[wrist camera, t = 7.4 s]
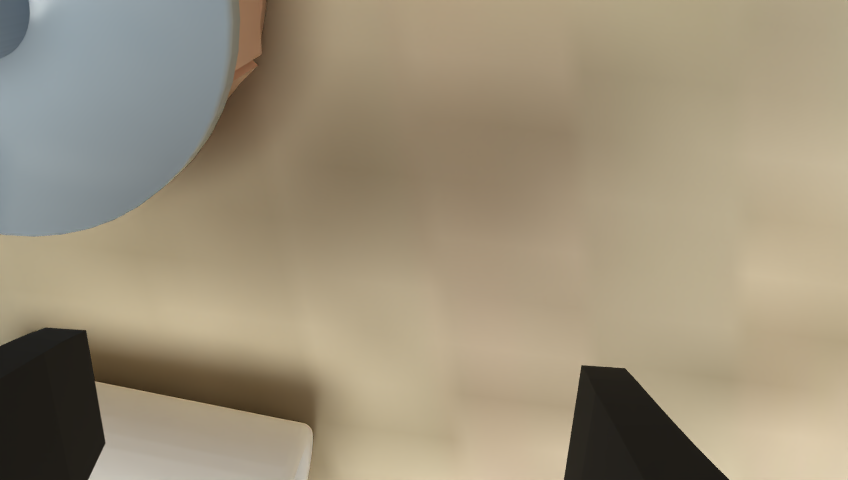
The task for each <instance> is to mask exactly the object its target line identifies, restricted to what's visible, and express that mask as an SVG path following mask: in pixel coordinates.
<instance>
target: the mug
mask: <svg viewBox="0 0 848 480" xmlns="http://www.w3.org/2000/svg"><path fill="white" fill-rule="evenodd" d="M95 385H96V391H97V396H98V402H99V408H100V414H101V419H102V425H103V431H104V437H105V442H106V443H105V445H104V447H103V450H102V452H101V454H100V456H99V458H98V460H97V462H96V464H95V466H94V469H93V471H92V473H91V475H90V477H89V479H88V480H308V476H309V470H310V464H311V456H312V448H313V433H312V429H311V428H310V426H309V425H307V424H305V423H301V422H296V421H291V420H286V419H281V418H276V417H271V416H266V415H261V414H256V413H251V412H246V411H241V410H236V409H231V408H226V407H221V406H216V405H211V404H206V403H201V402H196V401H191V400H186V399H181V398H176V397H171V396H166V395H161V394H156V393H151V392H146V391H141V390H136V389H131V388H126V387H121V386H116V385H111V384H106V383H101V382H96V381H95Z"/></svg>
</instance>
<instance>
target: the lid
mask: <svg viewBox="0 0 848 480" xmlns="http://www.w3.org/2000/svg"><path fill="white" fill-rule="evenodd" d="M239 33H240V9H239V0H0V234H3V235H17V236H47V235H61V234H66V233H71V232H76V231H81V230H85V229H90V228H92V227H95V226H98V225H101V224H103V223H106V222H109V221H112V220H114V219H116V218H118V217H120V216H122V215H124V214H125V213H127V212H129V211H131V210H133V209H135V208H137V207H138V206H140V205H141V204H142V203H144V202H145V201H146V200H147V199H149V198H150V197H151V196H153V195H154V194H155V193H157V192H158V191H159V190H161V189H162V188H163V187H164V186H165V185H166V184H168V183H169V182H170V181H171V180H172V179H174V178H175V177H176V176H177V175H178V174H179V173H180V172H181V171H182V170H183V169H184V168H185V167H186V166H187V165H188V164H189V163H190V162H191V161H192V160H193V159H194V158H195V157H196V155H197V154H198V152H199V151H200V149H201V148H202V147H203V145H204V144H205V142H206V141H207V140H208V138H209V137H210V135H211V134H212V132H213V130H214V128H215V126H216V124H217V122H218V120H219V118H220V116H221V114H222V112H223V110H224V107H225V104H226V101H227V98H228V95H229V92H230V89H231V86H232V83H233V79H234V73H235V68H236V62H237V57H238V52H239Z"/></svg>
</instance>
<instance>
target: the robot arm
mask: <svg viewBox="0 0 848 480" xmlns="http://www.w3.org/2000/svg"><path fill="white" fill-rule="evenodd" d="M105 443H106V442H105V437H104V431H103V425H102V419H101V414H100V408H99V402H98V396H97V391H96V385H95V379H94V373H93V368H92V362H91V356H90V350H89V345H88V339H87V333H86V330H71V329H57V328H43V329H41V330H38V331H35V332H32V333H30V334H27V335H25V336H22V337H20V338H18V339H15V340H13V341H11V342H8V343H6V344H4V345H2V346H0V480H88V479H89V477H90V475H91V473H92V471H93V469H94V466H95V464H96V462H97V460H98V458H99V456H100V454H101V452H102V450H103V447H104V445H105ZM564 480H729V479H728V478H727V477H726V476H725V475H724V474H723V473H722V472H721V471H720V470H719V469H718V468H717V467H716V466H715V465H714V464H713V463H712V462H711V461H710V460H709V459H708V458H707V457H706V456H705V455H704V454H703V453H702V452H701V451H700V450H699V449H698V448H697V447H696V446H695V445H694V444H693V443H692V441H691V440H690V439H689V438H688V437H687V436H686V435H685V434H684V433H683V432H682V431H681V430H680V429H679V428H678V426H677V425H676V424H675V423H674V422H673V421H672V420H671V419H670V418H669V417H668V415H667V414H666V413H665V412H664V411H663V410H662V409H661V408H660V407H659V406H658V404H657V403H656V402H655V401H654V400H653V399H652V398H651V397H650V395H649V394H648V393H647V392H646V391H645V390H644V389H643V388H642V386H641V385H640V384H639V383H638V382H637V381H636V380H635V379H634V377H633V376H632V375H631V374H630V373H629V372H628V371H627V370H626V369H625V368H612V367H597V366H583V365H582V366H581V373H580V379H579V386H578V392H577V399H576V405H575V412H574V418H573V425H572V431H571V438H570V444H569V451H568V457H567V464H566V470H565V477H564Z"/></svg>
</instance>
